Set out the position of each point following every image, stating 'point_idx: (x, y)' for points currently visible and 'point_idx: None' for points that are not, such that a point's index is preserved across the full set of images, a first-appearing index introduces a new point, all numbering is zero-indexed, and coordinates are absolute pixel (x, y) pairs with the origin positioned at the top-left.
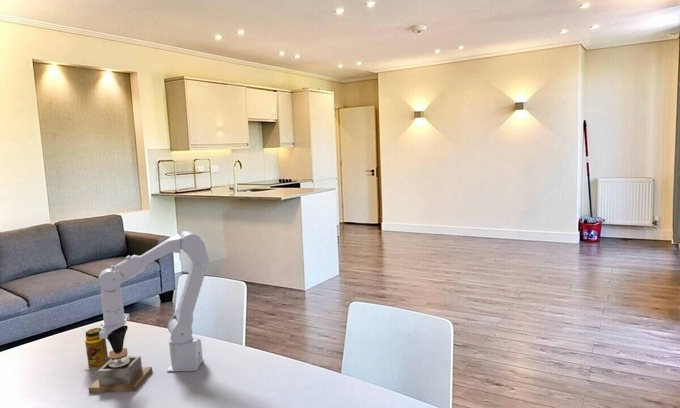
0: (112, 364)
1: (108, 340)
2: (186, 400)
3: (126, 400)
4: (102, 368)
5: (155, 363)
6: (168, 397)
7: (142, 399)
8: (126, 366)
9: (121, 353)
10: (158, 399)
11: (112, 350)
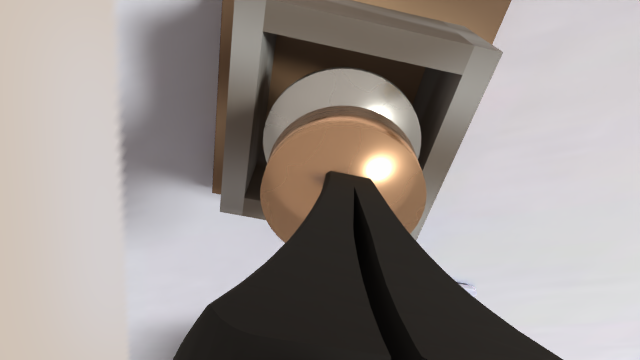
0: (310, 105)
1: (279, 251)
2: (139, 332)
3: (138, 158)
4: (274, 27)
5: (495, 213)
6: (159, 290)
7: (146, 216)
8: None
9: (279, 237)
10: (146, 265)
11: (385, 144)
